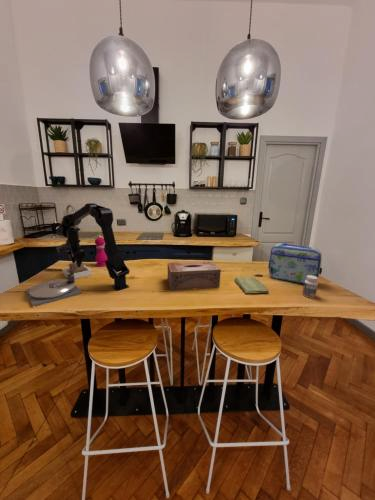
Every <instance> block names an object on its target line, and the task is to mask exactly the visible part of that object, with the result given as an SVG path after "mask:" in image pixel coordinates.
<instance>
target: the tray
mask: <svg viewBox="0 0 375 500" xmlns="http://www.w3.org/2000/svg"><path fill="white" fill-rule="evenodd" d="M62 274H63V276H64V277H65V279H67V274H70V268H69V267H67V268H62ZM89 276H93V270H92V269H91V268H89V267H88V266H87V265H85V264H84V271H83V272H78V273H74V278H75V280H77V279H81V278H86V277H89Z"/></svg>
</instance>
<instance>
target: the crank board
mask: <svg viewBox="0 0 375 500" xmlns="http://www.w3.org/2000/svg"><path fill="white" fill-rule="evenodd" d="M29 290H30V288H25V293H26V295H27V297H28V299H29V301H30V303H31V306H32V307H33V306H36V307H38V306H37V305H39V306H42V305H41V304H43V305H46V304H49V303H53V302H56V301H59V300H64V299H68V298H70V297H75V296H78V295H83V294H82V293H83V291H82V290H81V289H80V288H79V287H78V285H76V284H75V288H74V289H73V290H72V291H71V292H69V293H67V294H65V295H63V296H59V297H56V298H50V299H35V298H32V297H31V296H30V293H29ZM45 303H46V304H45Z"/></svg>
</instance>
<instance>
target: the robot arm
mask: <svg viewBox="0 0 375 500" xmlns="http://www.w3.org/2000/svg"><path fill="white" fill-rule="evenodd" d="M88 216H91V217H93V218H94V220H95V223H96V224H97V225H98V227H100V229H101V233H102V238H103V239H104V242H105V244H104V245H105V249H106V253H107V260H105V264H106V266H105V269H106V270H107V272H108V275H109V278H111V279H112V280H113V282H114V283H113V285H111V287H112V288H113V289H115V290H116V291H120V290H124V289H127V288H129V287H130V285H129V284H127V277H126V275H129V274H130V273H131V272H130V271H131V270H130V268H128V266H127V265H126V264H125V261H124V258H123V257H122V256H121V255H120V254H119V251H118V245H117V242H116V239H115V234H114V230H113V222H114V213H113V210H112V209H111V208H110V207H105V206H102V205H100V204H99V205H98V204H97V203H92V202H91V203H89V202H88V203H86V204H84V205H83V206H82V207H81V208H79V209H77V210H76V211H75V212H73V213H71V214H65V215H63V216H62V219H61V223H60V224H58V227H57V228H56V231H55V233H56V235H57V236H58V237H63V238H66V241H65V243H62V244H60V245H59V246H56V247H55V249H56V251H57V253H59V254H60V255H62V254H64V253H66V254H67V255H68V256H69V258H70V260H71V263H77V266H78V267H80V266H81V263H83V261H84V258H85V257H86V256H87V252H86V251H85V250H83V249H82V247H81V244H80V243H81V239H80V234H79V231H81V228H80V227H78V226H79V225H80V224H82V220H83V219H85V218H86V217H88Z"/></svg>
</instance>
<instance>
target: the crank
mask: <svg viewBox="0 0 375 500" xmlns="http://www.w3.org/2000/svg"><path fill="white" fill-rule="evenodd" d="M75 282H76V279H75V278H74V274H73V273H70V274H67V278H57V279H56V278H55V279H50V280H45V281H42V282H39V283H37V284H35V285H33V286H31V288H29V289H30V290H29V293H30V296H31V297H32V298H35V299H50V298H56V297H59V296H63V295H65V294H67V293H69V292H71V291H72V290H73V289H74V288H75V285H76V284H75Z"/></svg>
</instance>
